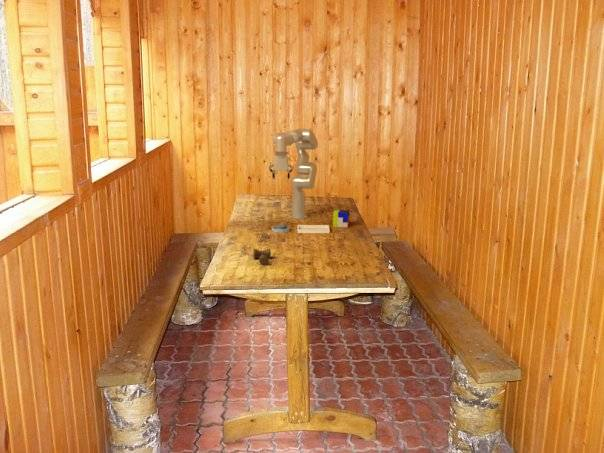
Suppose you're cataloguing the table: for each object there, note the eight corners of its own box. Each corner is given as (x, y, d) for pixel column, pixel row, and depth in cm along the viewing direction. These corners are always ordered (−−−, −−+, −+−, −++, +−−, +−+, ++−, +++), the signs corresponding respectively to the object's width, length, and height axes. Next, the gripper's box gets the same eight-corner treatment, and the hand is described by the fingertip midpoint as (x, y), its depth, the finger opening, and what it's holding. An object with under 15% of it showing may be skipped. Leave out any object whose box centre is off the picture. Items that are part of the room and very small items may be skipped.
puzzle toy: (347, 227, 409) (347, 213, 407) (333, 226, 411) (333, 212, 409) (349, 224, 419) (349, 210, 416) (335, 223, 420) (335, 209, 418)
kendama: (255, 266, 318) (252, 255, 337) (272, 266, 320) (269, 255, 339) (255, 256, 317) (252, 245, 336) (273, 255, 318) (269, 245, 337)
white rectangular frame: (297, 228, 404) (297, 224, 404) (328, 228, 404) (328, 225, 404) (297, 233, 391) (297, 229, 391) (329, 233, 392) (329, 229, 391)
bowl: (272, 228, 404) (272, 225, 403) (289, 228, 404) (289, 225, 403) (271, 232, 392) (271, 229, 391) (289, 232, 392) (289, 229, 392)
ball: (277, 225, 400) (282, 220, 399) (283, 230, 400) (288, 224, 399) (277, 227, 395) (281, 221, 394) (283, 231, 395) (288, 226, 394)
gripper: (293, 153, 403) (293, 178, 407) (268, 153, 403) (268, 178, 407) (293, 154, 396) (293, 179, 399) (267, 154, 395) (268, 179, 399)
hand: (281, 179), depth 403 cm, fingers open, 9 cm apart
